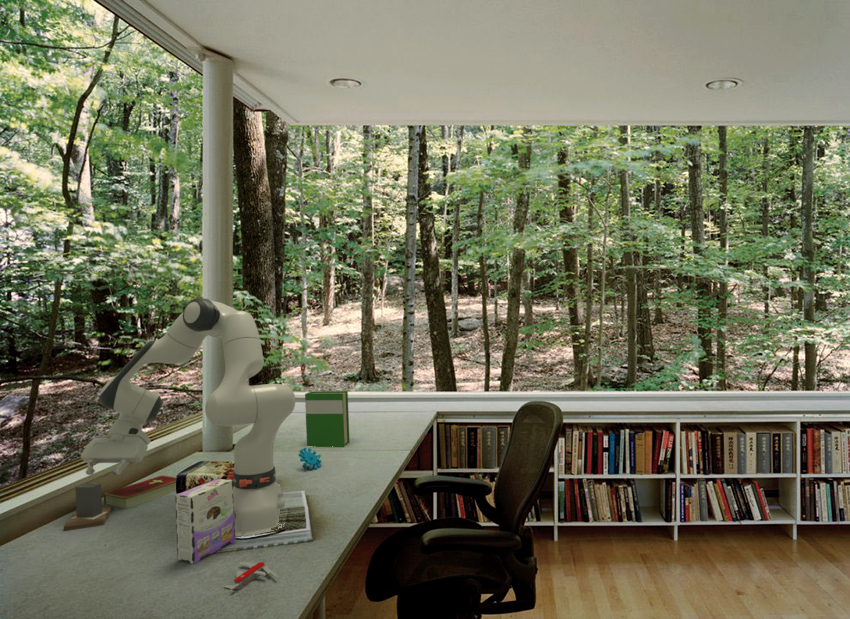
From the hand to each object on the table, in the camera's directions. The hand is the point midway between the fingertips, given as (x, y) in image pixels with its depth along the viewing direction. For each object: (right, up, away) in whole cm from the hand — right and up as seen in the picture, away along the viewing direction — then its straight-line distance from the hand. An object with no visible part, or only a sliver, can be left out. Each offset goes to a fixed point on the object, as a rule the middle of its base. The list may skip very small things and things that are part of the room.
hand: (102, 474), depth 168 cm
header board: (-1, -12, -6) cm, 13 cm away
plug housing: (-1, -11, -6) cm, 12 cm away
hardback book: (+57, -10, +76) cm, 96 cm away
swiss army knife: (+61, -10, -47) cm, 78 cm away
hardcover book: (+6, -13, +14) cm, 20 cm away
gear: (+57, -10, +41) cm, 71 cm away
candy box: (+45, -10, -31) cm, 56 cm away
